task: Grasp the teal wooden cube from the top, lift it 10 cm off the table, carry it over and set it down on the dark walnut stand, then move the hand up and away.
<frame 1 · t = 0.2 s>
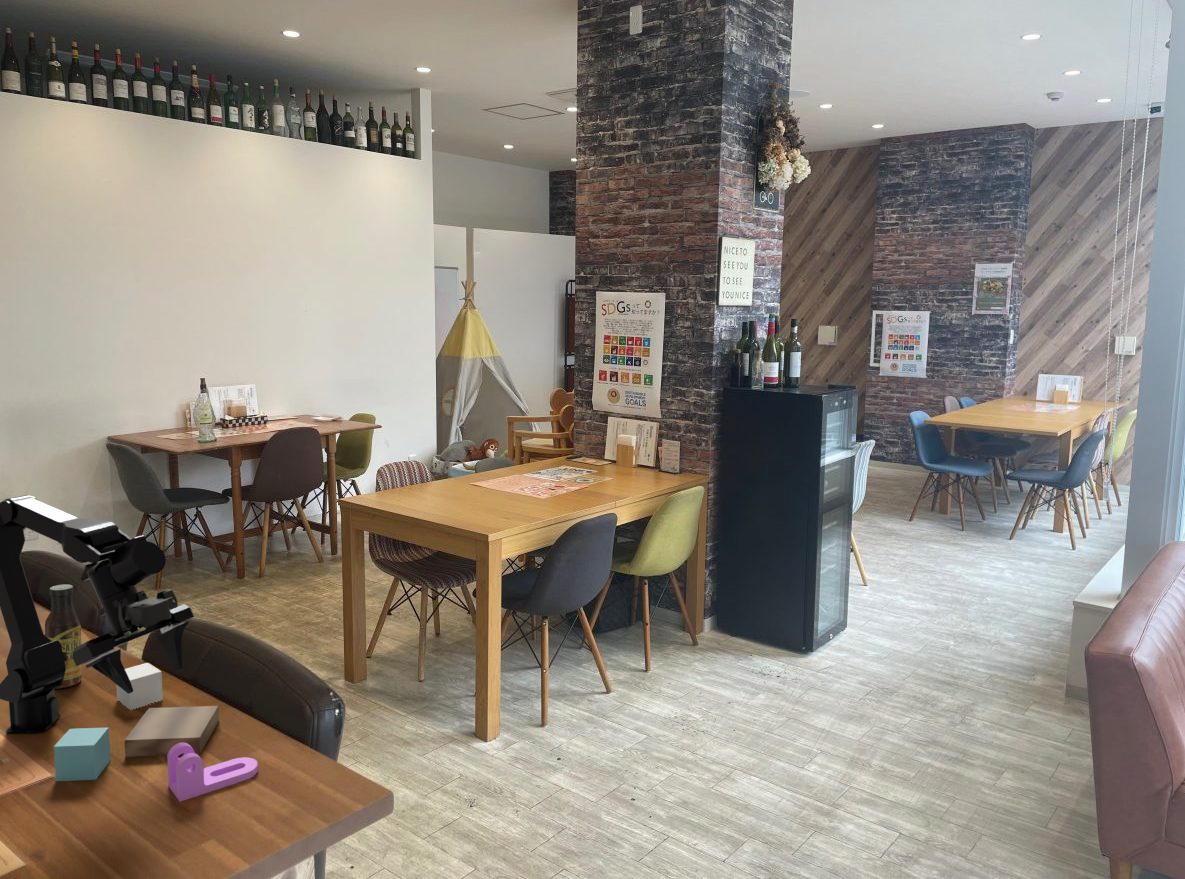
hand: (156, 681, 146), 14 cm above the table, tool tilted 30°, fingers open, 9 cm apart
walnut stand: (174, 738, 156), on the table
white cube: (140, 701, 171), on the table
sauce bottle: (65, 684, 177), on the table
teal cube: (83, 771, 145), on the table
bracket: (216, 782, 144), on the table
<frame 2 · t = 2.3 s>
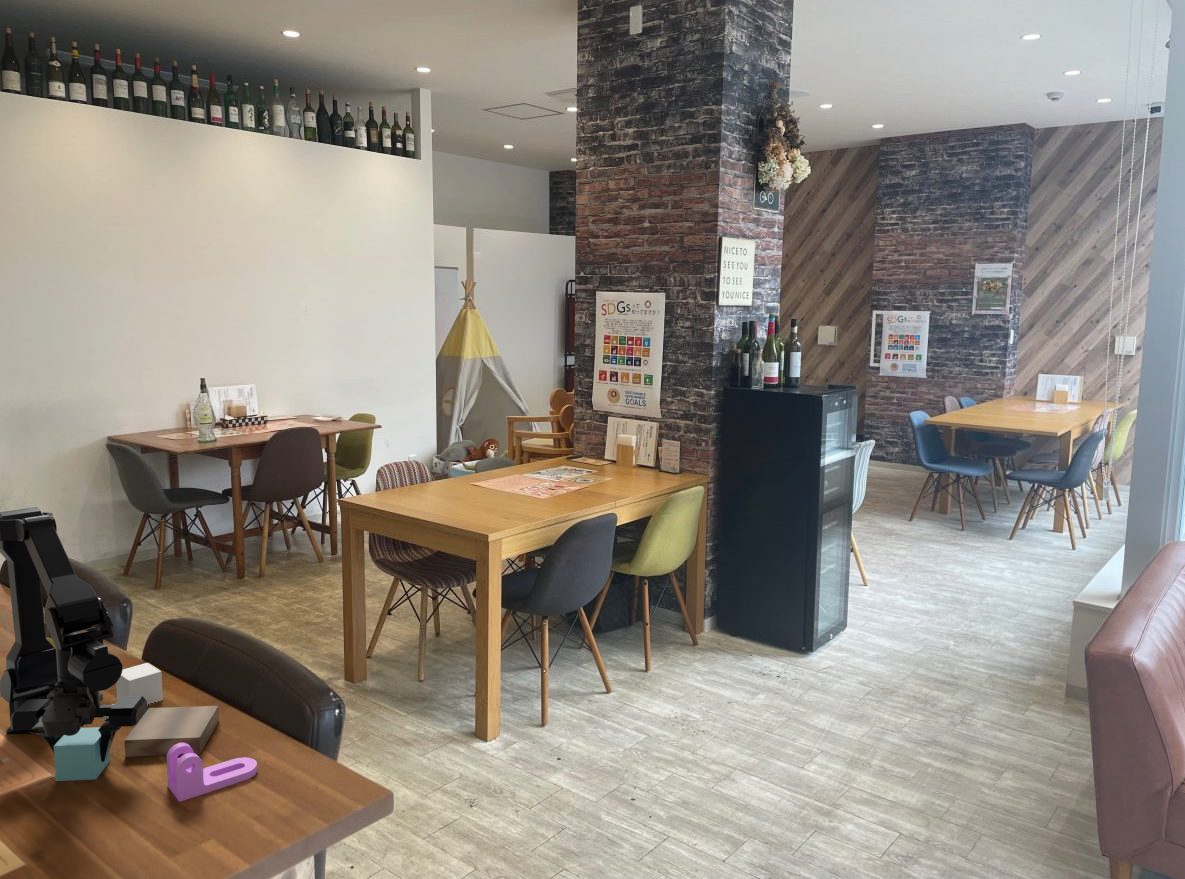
hand: (83, 761, 145), 2 cm above the table, tool pointing down, fingers closed on teal cube, 6 cm apart
teal cube: (83, 770, 145), on the table, touching gripper
everything else where it was.
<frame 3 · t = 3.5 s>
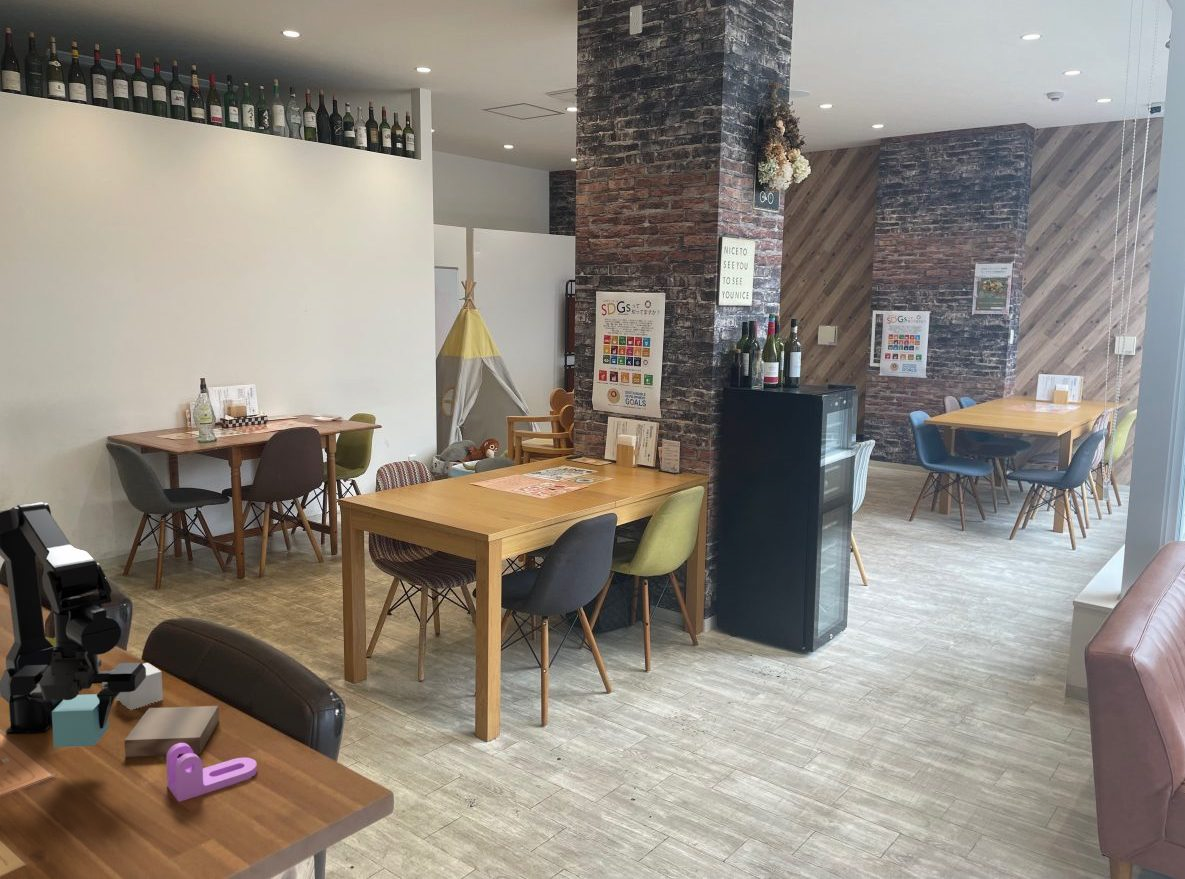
hand: (81, 728, 144), 7 cm above the table, tool pointing down, fingers closed on teal cube, 6 cm apart
teal cube: (82, 737, 144), point 6 cm above the table, touching gripper
everything else where it was.
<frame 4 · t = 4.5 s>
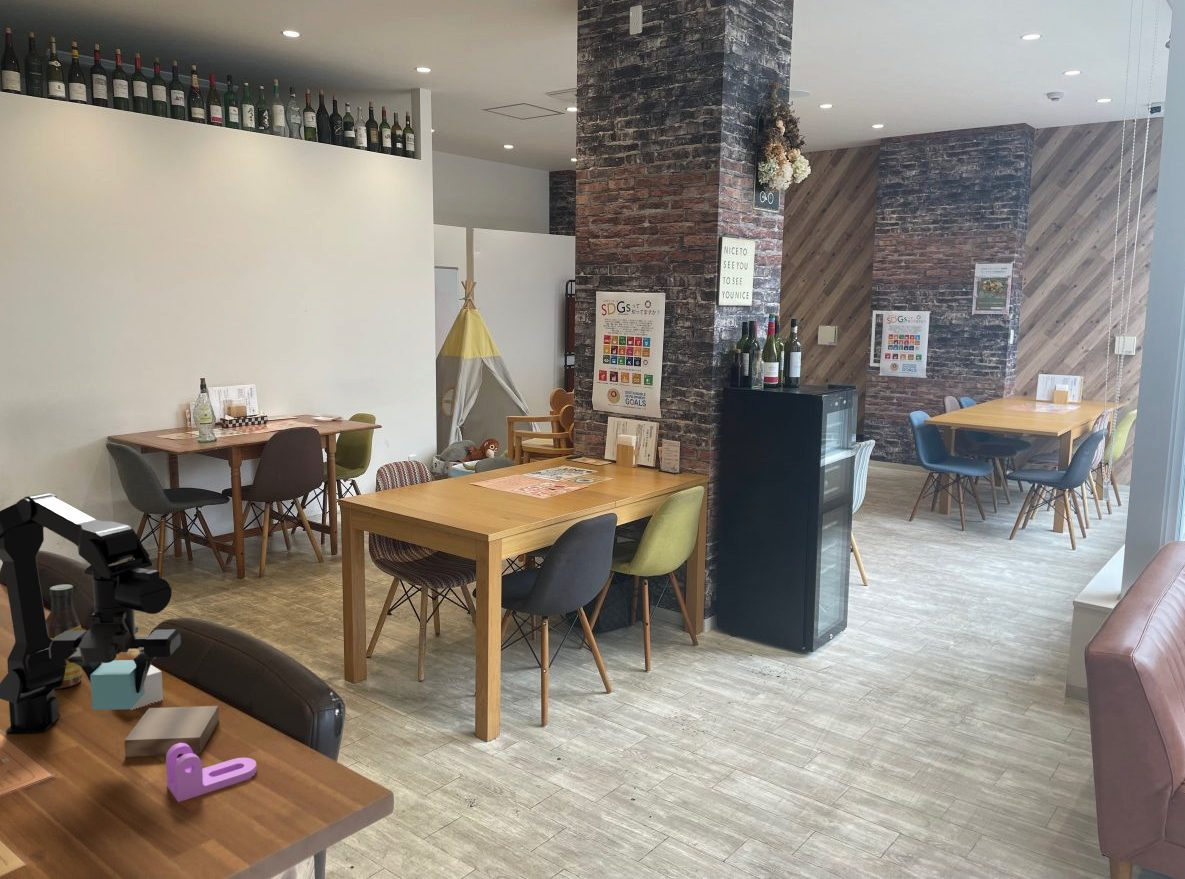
hand: (118, 692, 148), 12 cm above the table, tool pointing down, fingers closed on teal cube, 6 cm apart
teal cube: (119, 701, 148), point 10 cm above the table, touching gripper
everything else where it was.
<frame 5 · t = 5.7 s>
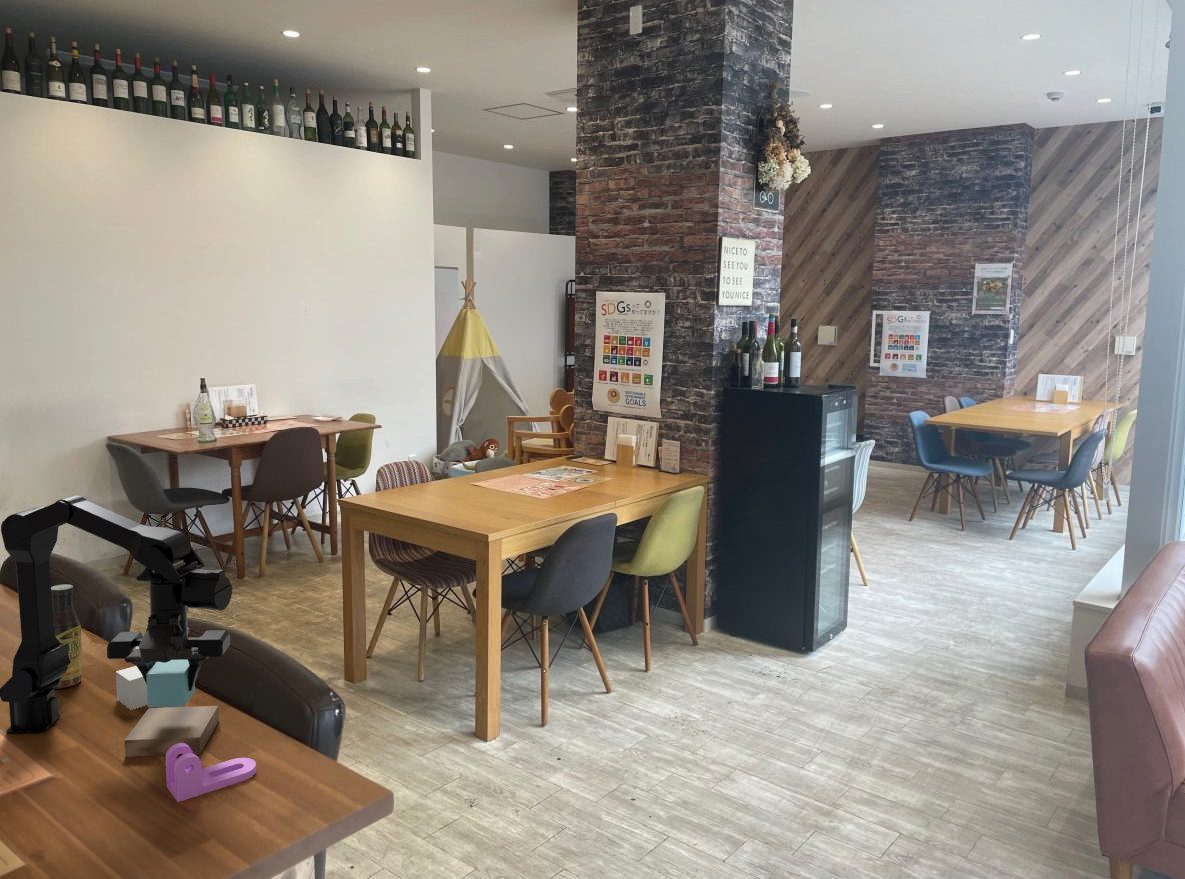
hand: (171, 690, 155), 9 cm above the table, tool pointing down, fingers closed on teal cube, 6 cm apart
teal cube: (171, 699, 155), point 7 cm above the table, touching gripper
everything else where it was.
when the fingers open (6 cm above the table, at t = 6.8 s): teal cube drops 1 cm, resting on walnut stand.
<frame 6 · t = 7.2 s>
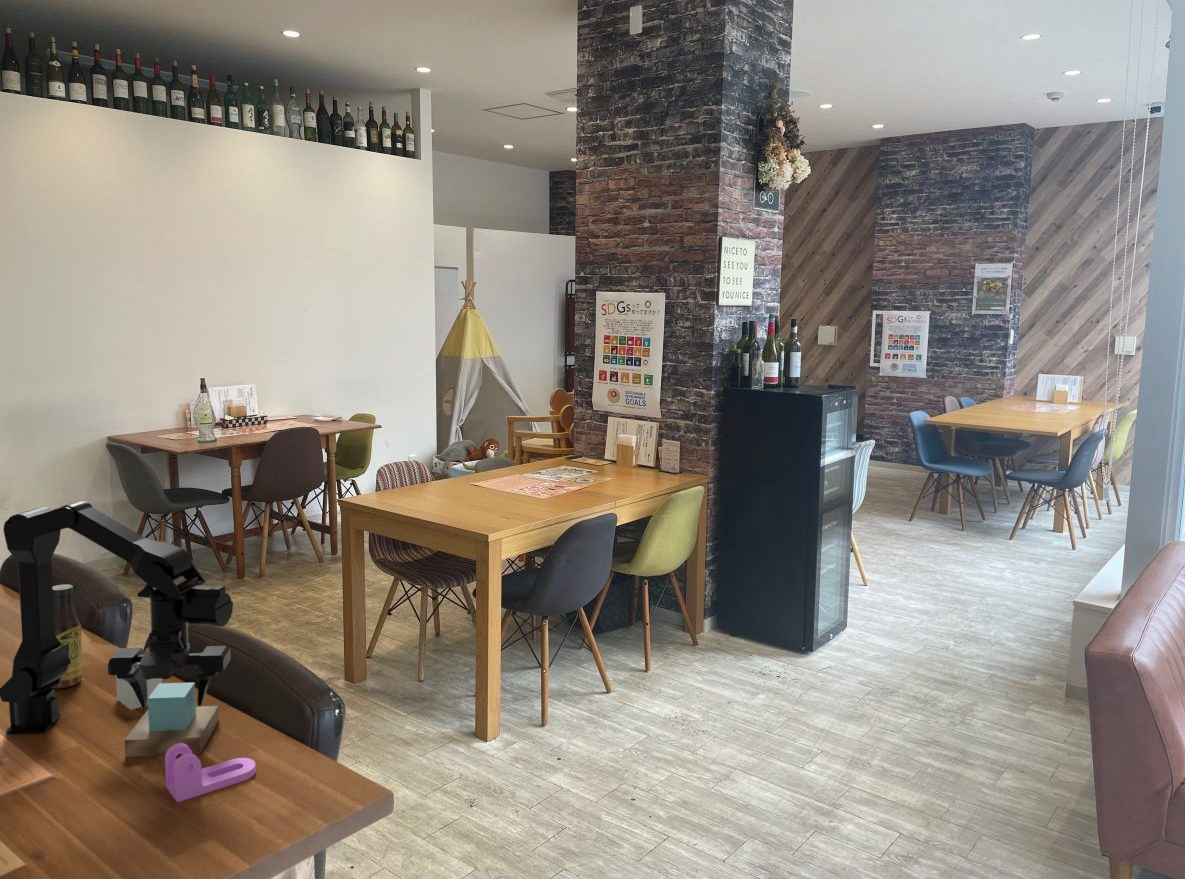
hand: (172, 706, 156), 6 cm above the table, tool pointing down, fingers open, 9 cm apart
teal cube: (173, 722, 156), point 3 cm above the table, touching walnut stand
everything else where it was.
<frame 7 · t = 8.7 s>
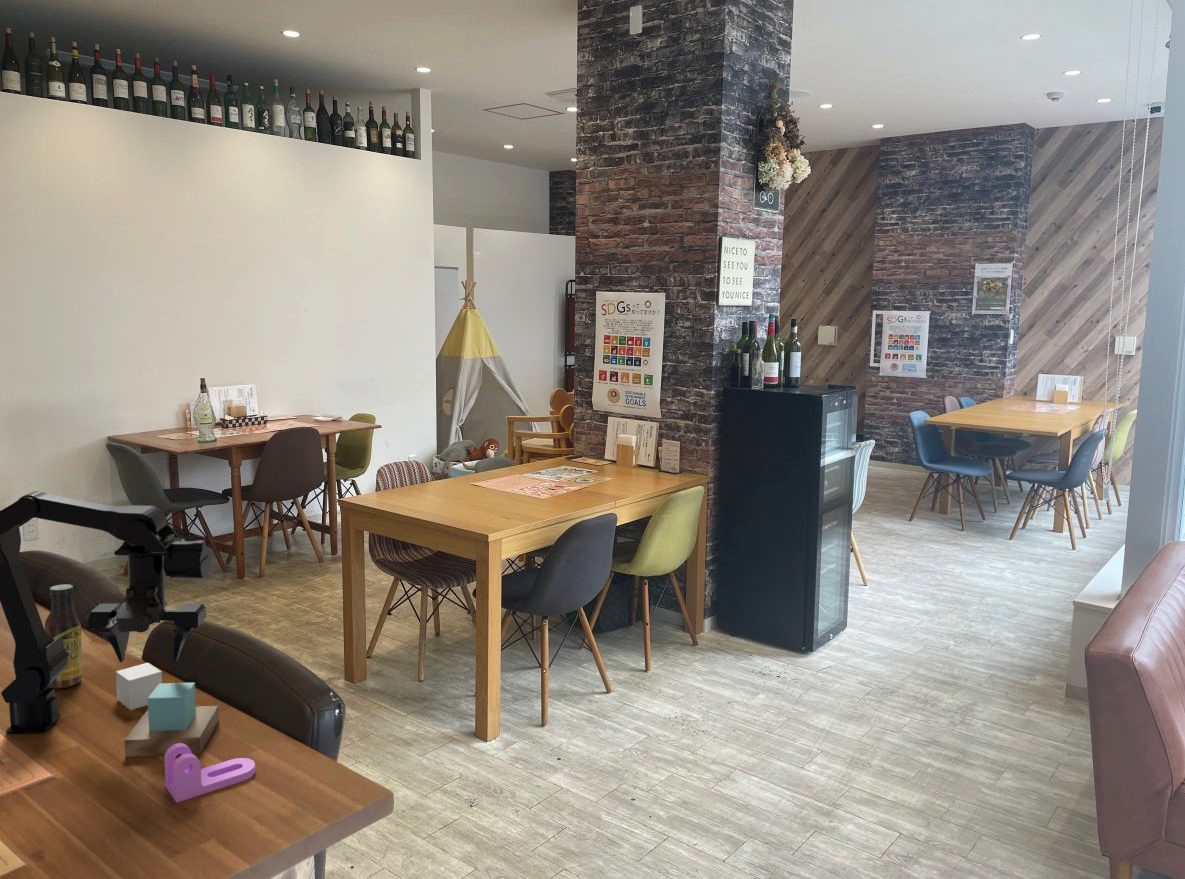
hand: (149, 661, 160), 12 cm above the table, tool pointing down, fingers open, 9 cm apart
nothing on the table moved.
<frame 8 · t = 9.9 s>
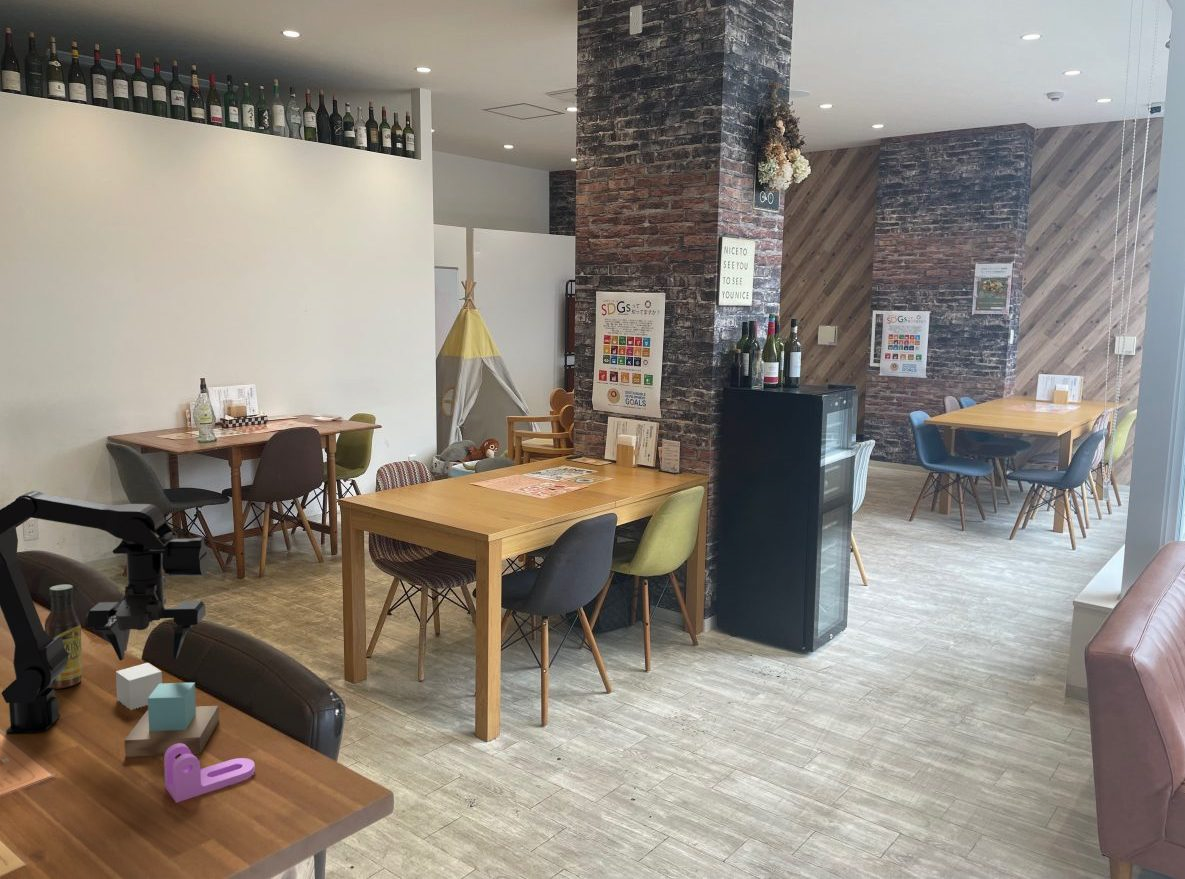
hand: (148, 658, 161), 12 cm above the table, tool pointing down, fingers open, 9 cm apart
nothing on the table moved.
at the end: teal cube inside the target area on the walnut stand (0.1 cm from its centre), point 3.0 cm above the walnut stand's base; teal cube tilted 0°; the gripper is holding nothing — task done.
